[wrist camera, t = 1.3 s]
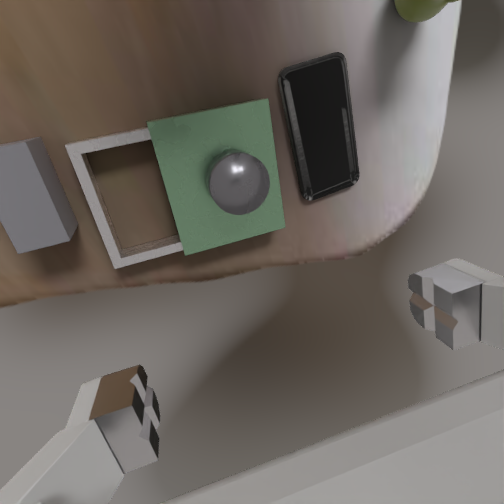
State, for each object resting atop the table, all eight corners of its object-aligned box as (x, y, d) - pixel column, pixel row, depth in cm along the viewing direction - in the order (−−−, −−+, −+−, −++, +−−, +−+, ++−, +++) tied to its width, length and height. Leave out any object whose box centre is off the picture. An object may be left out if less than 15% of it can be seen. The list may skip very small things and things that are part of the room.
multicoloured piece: (67, 136, 32) (53, 143, 27) (258, 98, 36) (279, 98, 31) (117, 263, 39) (114, 288, 33) (276, 219, 42) (295, 236, 37)
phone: (305, 203, 42) (278, 69, 35) (301, 200, 43) (274, 70, 36) (361, 182, 43) (346, 49, 36) (356, 180, 44) (340, 50, 37)
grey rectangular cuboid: (-11, 146, 31) (-36, 154, 27) (41, 136, 32) (25, 142, 28) (33, 235, 35) (18, 253, 31) (78, 223, 36) (70, 240, 32)
